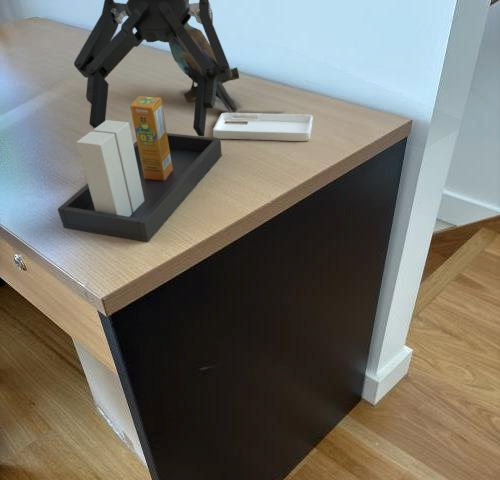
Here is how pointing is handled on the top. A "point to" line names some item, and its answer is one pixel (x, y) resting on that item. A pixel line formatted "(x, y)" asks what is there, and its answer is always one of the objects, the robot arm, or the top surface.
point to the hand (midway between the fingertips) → (147, 130)
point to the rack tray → (148, 192)
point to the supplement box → (151, 137)
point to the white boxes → (111, 168)
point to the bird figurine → (193, 71)
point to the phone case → (265, 127)
